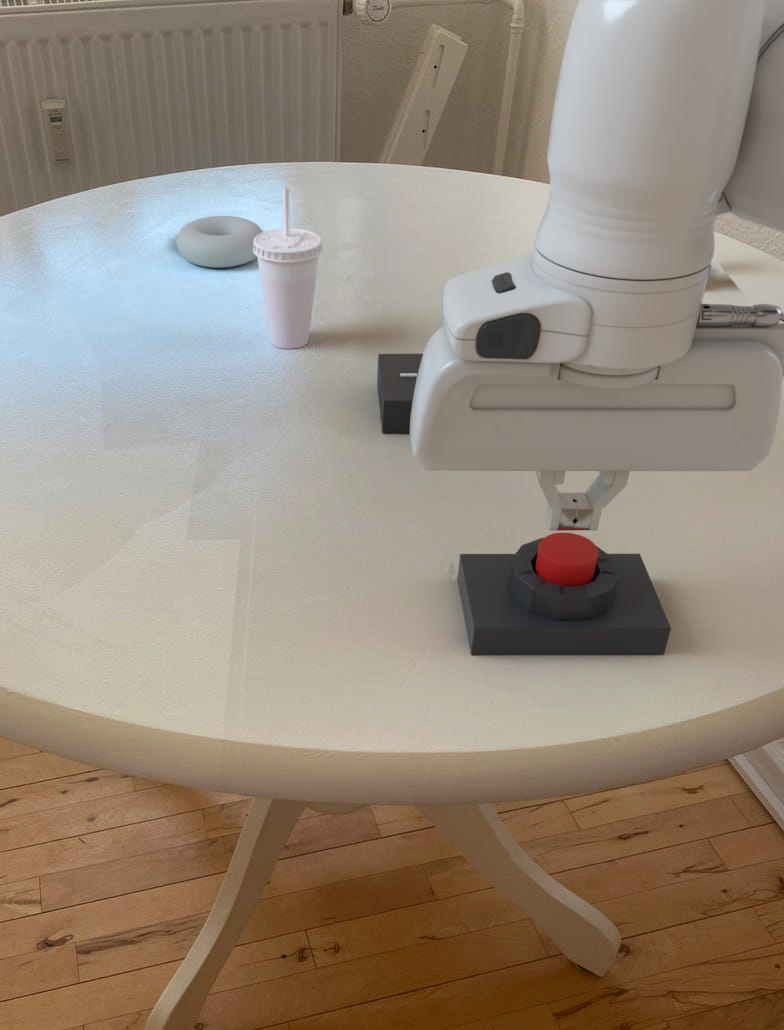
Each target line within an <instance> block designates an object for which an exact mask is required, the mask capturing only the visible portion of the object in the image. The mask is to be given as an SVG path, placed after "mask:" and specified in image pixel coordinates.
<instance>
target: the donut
mask: <svg viewBox="0 0 784 1030" xmlns="http://www.w3.org/2000/svg"><path fill="white" fill-rule="evenodd" d="M263 232H264V231H263V230H262V228H261V227H260V226H259V225H258V224H257V223H256V222H255V221H252V220H250V219H247V218H243V217H240V216H234V215H213V216H205V217H200V218H198V219H194V220H192V221H190V222H187V224H185V225H183V226H181V228H180V230H179V232H178V235H177V236H176V248H177V250H178V252H179V254H180V255H181V257H182V258H183V259H184V260H186V261H187V262H189V263H190V264H194V265H197V266H199V267H200V266H201V267H207V268H212V269H213V268H218V269H220V268H221V269H224V268H225V267H226V268H233V267H234V266H235V267H238V265H239V266H243V265H246V264H248V263H250V262H252V261H254V260H256V259H258V258H257V256H256V255H255V254H254V252H253V248H254V245H253V240H254V238H255V237H256V236H257V235H259V234H260V233H263ZM242 264H243V265H242Z"/></svg>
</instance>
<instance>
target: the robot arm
mask: <svg viewBox="0 0 784 1030" xmlns="http://www.w3.org/2000/svg"><path fill="white" fill-rule="evenodd" d="M554 95H555V96H554V103H553V107H552V108H553V109H552V115H551V122H550V130H549V135H548V143H547V152H546V153H547V156H546V157H547V165H548V166H547V167H548V172H549V195H548V201H547V205H546V208H545V211H544V213H543V216H542V218H541V220H540V222H539V224H538V227H537V230H536V235H535V238H534V239H535V240H534V245H533V250H532V251H530V252H527V253H525V254H522V255H519V256H516V257H513V258H510V259H507V260H504V261H501V262H498V263H494V264H492V265H488V266H485V267H482V268H478V269H476V270H475V269H474V270H472V271H469V272H466V273H462V274H459V275H455V276H454V277H452V278H450V279H449V280H448V281H447V282H446V283H445V285H444V287H443V290H442V291H443V292H442V299H441V317H442V319H441V320H442V325H443V326H441V327H440V328H438V329H437V330H436V331H435V332H434V333H433V334H432V335H431V337H430V339H429V340H428V341H427V342H428V344H427V343H426V346H425V348H424V351H423V353H422V354H423V356H422V360H421V364H420V367H419V372H418V376H417V380H416V385H415V390H414V396H413V402H412V410H411V418H410V433H409V441H410V443H409V444H410V448H411V453H412V456H413V457H414V459H415V460H416V462H418V464H419V465H420V467H422V468H423V469H424V470H425V471H430V472H448V471H449V472H535V475H536V478H537V481H538V484H539V487H540V489H541V491H542V492H543V494H544V496H545V499H546V504H545V510H544V522H545V524H546V529H547V530H548V531H559V532H560V531H561V532H563V531H598V528H599V524H600V520H601V515H602V510H603V509H605V508H606V507H607V506H608V505H609V504H610V503H611V502H612V501H613V500H614V499H615V498H616V497H617V496H618V495H619V494H620V493H621V492H622V491H623V489H624V488H625V487H627V485H628V480H629V477H630V472H750V471H753V469H756V467H758V466H759V465H760V464H761V463H763V461H765V460H766V459H767V458H768V457H769V456H770V453H771V450H772V446H773V444H774V443H773V442H774V440H775V435H776V430H777V425H778V421H779V414H780V408H781V400H782V390H783V389H782V388H783V379H784V312H782V309H781V307H780V306H779V305H775V304H768V303H758V304H753V305H734V304H729V303H728V304H727V303H703V299H704V296H705V290H706V288H707V285H706V283H707V280H708V279H709V276H710V271H711V267H712V262H713V260H714V259H713V258H714V256H715V255H714V254H715V222H714V218H715V217H716V216H717V217H718V216H720V215H724V214H731V215H734V216H736V217H737V218H738V219H740V220H743V221H746V222H749V223H752V224H755V225H758V226H761V227H764V228H767V229H770V230H773V231H775V232H780V233H783V234H784V0H578V2H577V4H576V7H575V10H574V13H573V16H572V19H571V23H570V27H569V29H568V35H567V39H566V42H565V46H564V50H563V54H562V59H561V65H560V69H559V75H558V79H557V85H556V90H555V94H554ZM708 275H709V276H708ZM780 321H781V323H780ZM567 472H598V473H599V474H598V476H597V477H596V478H595V479H594V481H593V482H592V483H590V485H589V487H588V488H587V489H586V491H585V492H560V491H559V489H558V487H557V485H564V481H565V476H566V473H567Z"/></svg>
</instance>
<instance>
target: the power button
mask: <svg viewBox="0 0 784 1030" xmlns="http://www.w3.org/2000/svg"><path fill="white" fill-rule="evenodd" d="M542 538H543V537H542ZM596 546H597V545H596V544H595V542H593V541H592V540H590V539H589V538H588V537H586V536H583V535H581V534H577V533H573V532H554V533H551V534H548V535H546V536H545V537H544V538H543V539H542V540H541V542H540V544H539V549H538V555H537V561H536V572H537V574H538V576H540V577H541V578H542V579H543V580H545V581H548V582H551V583H554V584H557V585H560V586H583V585H585V584H588V583H589V582H590V581H591V580H592V578H593V576H594V571H595V566H596V561H597V557H598V549H597V547H598V546H597V547H596Z"/></svg>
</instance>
